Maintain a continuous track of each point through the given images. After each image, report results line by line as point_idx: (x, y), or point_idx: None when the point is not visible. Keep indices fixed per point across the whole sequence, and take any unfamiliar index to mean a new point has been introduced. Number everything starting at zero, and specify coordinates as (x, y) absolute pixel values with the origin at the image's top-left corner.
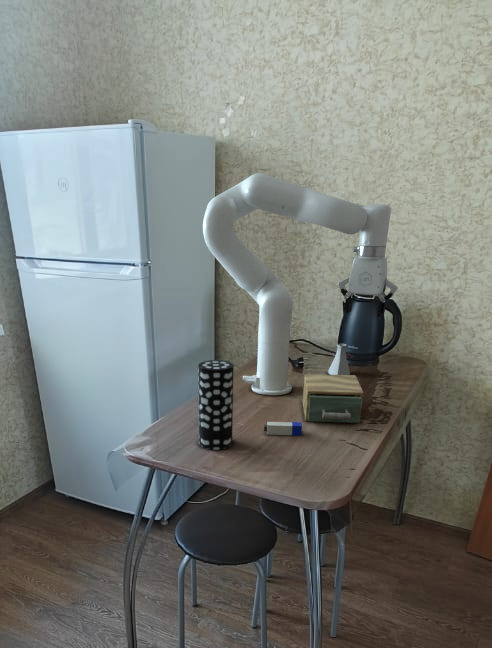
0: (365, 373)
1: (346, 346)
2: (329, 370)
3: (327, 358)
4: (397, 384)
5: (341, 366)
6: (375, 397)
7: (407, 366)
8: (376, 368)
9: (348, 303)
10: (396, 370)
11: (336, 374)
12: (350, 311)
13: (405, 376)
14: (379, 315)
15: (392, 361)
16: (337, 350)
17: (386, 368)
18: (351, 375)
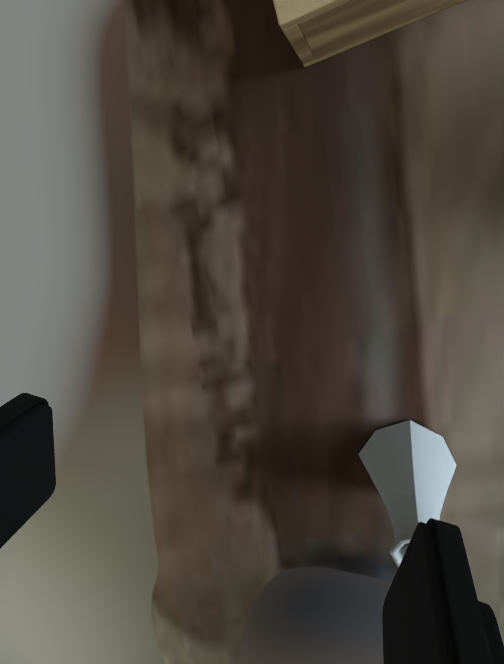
0: (305, 479)
1: (392, 546)
2: (450, 463)
3: None
4: (182, 381)
5: (399, 458)
6: (226, 201)
7: (188, 562)
8: (276, 535)
9: (450, 652)
10: (212, 522)
11: (414, 427)
12: (391, 585)
13: (175, 468)
14: (21, 396)
15: (238, 604)
16: None
17: (244, 538)
18: (303, 7)
